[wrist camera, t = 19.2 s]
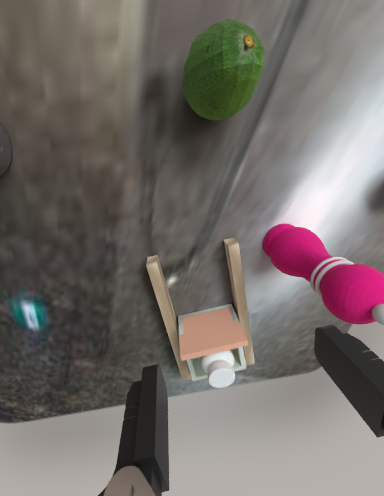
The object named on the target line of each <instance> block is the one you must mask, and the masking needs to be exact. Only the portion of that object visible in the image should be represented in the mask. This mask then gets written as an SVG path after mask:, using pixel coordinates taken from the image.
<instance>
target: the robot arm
mask: <svg viewBox="0 0 384 496" xmlns="http://www.w3.org/2000/svg"><path fill="white" fill-rule="evenodd" d="M11 156H12V150H11V144H10V141H9V138H8V135H7V134H6V132H5V130H4V128H3V127H2V125H1V124H0V176H2V175H3V174H4V173H5V172H6V170H7V169H8V167H9V165H10V162H11ZM314 351H315V355H316V358H317V360H318V362H319V363H320V365H321V366H322V367H323V368H324V370H325V371H326V372H327V373H328V375H329V376H330V377H331V379H332V380H333V381H334V382H335V384H336V385H337V386H338V388H339V389H340V390H341V391H342V393H343V394H344V395H345V397H346V398H347V399H348V400H349V402H350V403H351V404H352V405H353V407H354V408H355V409H356V410H357V412H358V413H359V414H360V416H361V417H362V418H363V420H364V421H365V422H366V423H367V425H368V426H369V427H370V429H371V430H372V431H373V432H374V434H375V435H376V436H377V437H381V436H384V361H383V360H381V359H379V357H378V356H377V355H376V354H375V353H374V352H372V351H370V349H369V348H368V347H367V346H366V345H365V344H364V343H362V342H361V341H360V340H358V339H357V338H355V337H353V336H351V335H350V334H348V333H346V334H343V333H342V332H341V331H340V330H338V329H337V328H336V327H335V326H334V325H328V326H324V327H319V328H316V330H315V347H314ZM168 490H169V456H168V399H167V389H166V384H165V381H164V378H163V375H162V372H161V368H160V365H159V364H156V365H152V366H148V367H144V368H143V371H142V381H138V382H134V383H133V384H132V386H131V388H130V390H129V392H128V394H127V400H126V410H125V413H124V421H123V426H122V433H121V439H120V446H119V452H118V459H117V464H116V469H115V471H114V474H113V477H112V478H111V480H110V481H109V483H108V485H107V486H106V488H105V489H104V490H103V492H101V493H100V494H99V495H98V496H162V494H161V493H162V492H164V491H168Z"/></svg>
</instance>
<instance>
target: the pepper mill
mask: <svg viewBox="0 0 384 496" xmlns="http://www.w3.org/2000/svg"><path fill="white" fill-rule="evenodd" d="M263 246H264V250H265V252H266V254H267V255H268V256H269V257H270V258H271V261H272V263H273V264H274V266H275V267H276V268H277V269H279V270H280V271H281V272H283V273H285V274H288V275H291V276H296V277H303V278H305V279H306V280H308V281H309V282H310V284H311V287H312V289H313V291H314V292H316V293H317V294H318V295H319V296H320V297H321V298H322V300H323V302H324V304H325V306H326V308H327V309H328V310H329V311H330V312H331V313H332V314H333V315H335V316H336V317H337V318H339V319H341V320H343V321H345V322H348V323H353V324H368V323H371V322H374V321H377V322H378V323H380V324H383V325H384V275H383V274H382V273H381V272H379V271H378V270H376V269H374V268H372V267H369V266H366V265H361V264H354V263H352V262H350V261H348V260H347V259H345V258H342V257H332V256H331V255H329V253H328V252H327V251H326V249H325V247H324V245H323V243H322V241H321V240H320V239H319V238H318V236H317V235H316V234H314V233H313V232H311V231H310V230H308V229H306V228H301V227H294V226H292V225H290V224H279V225H277V226H275V227H273V228H272V229H271V230H269V231H268V233H267V234H266V236H265V238H264V243H263Z"/></svg>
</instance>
